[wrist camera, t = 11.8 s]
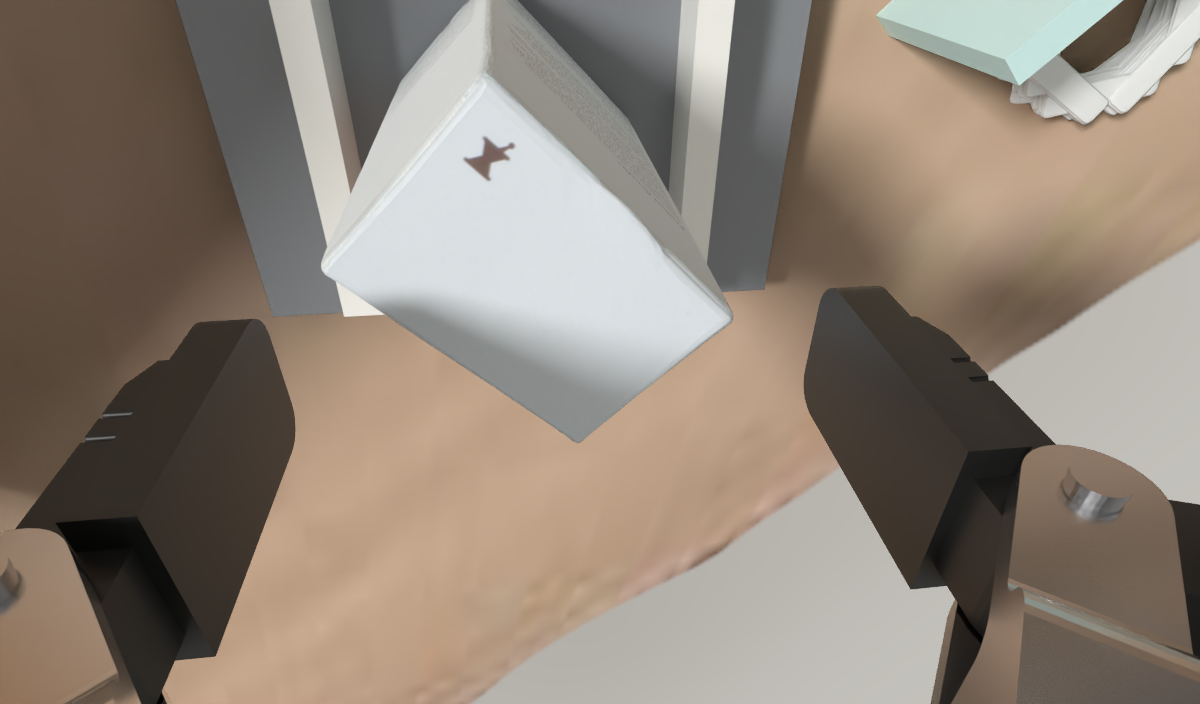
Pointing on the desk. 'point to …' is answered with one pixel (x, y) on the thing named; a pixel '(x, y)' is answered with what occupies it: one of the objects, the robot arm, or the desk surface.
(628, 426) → the desk surface
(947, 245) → the desk surface
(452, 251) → the skincare box
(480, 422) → the desk surface
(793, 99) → the box stand
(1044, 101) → the right angle wall
